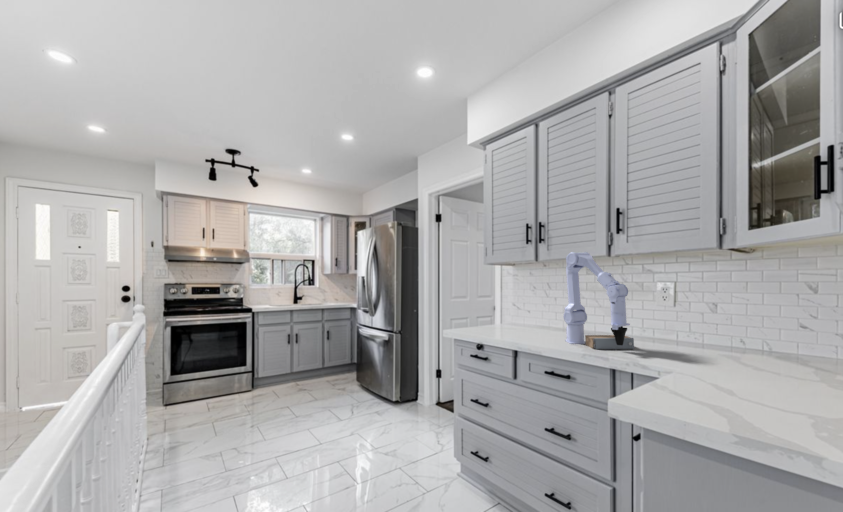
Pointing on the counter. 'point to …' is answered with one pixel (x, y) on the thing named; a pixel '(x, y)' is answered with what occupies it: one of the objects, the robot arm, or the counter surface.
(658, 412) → the counter surface
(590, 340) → the cabinet
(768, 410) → the counter surface
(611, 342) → the door
